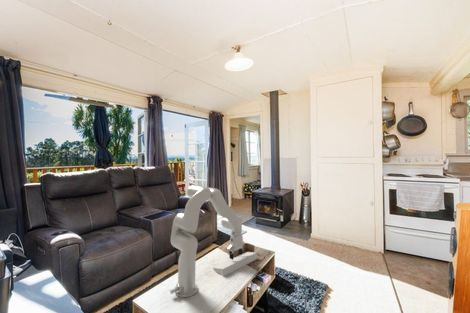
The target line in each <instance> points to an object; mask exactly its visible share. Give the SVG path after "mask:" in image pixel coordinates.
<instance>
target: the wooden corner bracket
mask: <svg viewBox="0 0 470 313" xmlns="http://www.w3.org/2000/svg"><path fill="white" fill-rule="evenodd" d="M243 245H244V246H243V249H242V254H243V253H245V252H255V245H254V244H251V243H249V242H244V244H243ZM239 255H240V254H238V250H236V251H234V252H233V257H234V258H235V256H236V257H237V256H239Z"/></svg>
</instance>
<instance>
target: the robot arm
mask: <svg viewBox="0 0 470 313" xmlns="http://www.w3.org/2000/svg"><path fill="white" fill-rule="evenodd" d="M186 190H187V191H186V194H187V196H188V198H189V199H188V200H187V202H186V204H185V206H184V207H185V208H184V211H183V212H179V213H177V214H176V215H175V217H174V219H173V221H172V226H171V234H170V243H171V245H172V247H173V248H176V250H177V249H178V250H179V251H180V255H179V257H178V263H177V264H178V265H177V266H178V269H177V270H178V272H177V273H178V274H177V276H178V277H177V283H176V286H175V287H174V288H172V289H170V290H169V292H170V294H171V295H172V294H174V295H176V296H177V297H179V298H189V297H192V296H194V295H196V294H197V292H198V290H199V289H198V288H199V287H198V285H197V283H196V255H197V249H198V245H199V242H198V239H197V238H196V237H195V236H194V235H191V234H192V233H195V232H196V231H197V229H198V226H199V218H200V217H199V216H200V211H201V207H202V206H203V205H204V203H205V202H207V201H208V202H210V203H211V204H212V206H213V208H214V210H215V212H216V213H217V214H218V215H220V216H221V217H222V219H221V222H220V223H221V226H222V227H223V228H225V229H228V230H230V237H229V238H230V240H229V246H228V247H227V252H228V253H229V260H230V259H232V260H233V252H234V251H236V250H238V254H239V255H242V254H243V253H242V249H243V246H244V245H243V244H244V243H245V241H244V238H243V233H242V231H243V228H242V227H243V226H242V225H243V217H242V216H241V215H239V214H237V213H236V212H235V211H234V210H233V209H232V208H231V206H229V205H228V204H227V201H226V200H225V198H224V196H223V193H222V191H221V190H220V189H218V188H216V187H215V188H214V187H209V186H203V185H198V184H197V185H196V184H192V185H190V186H189V187H188V188H187V189H186Z"/></svg>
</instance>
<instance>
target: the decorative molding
mask: <svg viewBox="0 0 470 313" xmlns="http://www.w3.org/2000/svg"><path fill="white" fill-rule="evenodd" d="M257 259H258V255H257V252H255V251H254V252H248V251H245V252H243V253H242V255H240V254H239V255H238V256H236V257H234V258H233V260H232V259H230V258H229V260H226V261H224V262H222V263H220V264H217V265H216V266H213V268H212V269H213V271H214V272H216V273H218V274H219V275H220V276H221V277H225V276H228V275H230V274H232V273H233V272H235V271H237V270H239V269H240V268H243V267H245V266H247V265H248V264H250V263H253V262H254V261H256V260H257Z"/></svg>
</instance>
